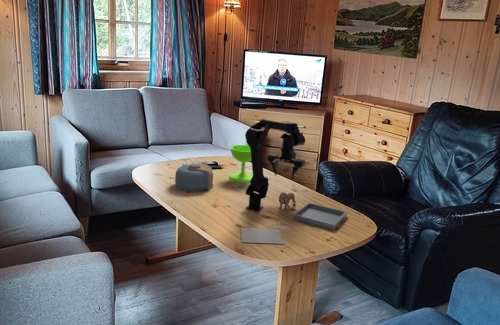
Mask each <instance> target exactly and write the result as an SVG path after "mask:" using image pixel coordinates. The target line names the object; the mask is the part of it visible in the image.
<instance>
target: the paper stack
mask: <svg viewBox="0 0 500 325" xmlns="http://www.w3.org/2000/svg"><path fill="white" fill-rule="evenodd" d="M274 227H275V228H256V227H254V228H253V227H240V233H241V234H240V235H241V236H240V237H241V242H242V243H249V244H250V243H252V244H253V243H256V244H279V245H280V244H281V245H284V239H283V237H282V233H281V231H280V229H282V230H285V231H289V229H288V226H287V225H285V226H284V225H274Z"/></svg>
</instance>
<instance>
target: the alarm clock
mask: <svg viewBox="0 0 500 325" xmlns="http://www.w3.org/2000/svg"><path fill="white" fill-rule="evenodd" d="M212 170H213V169H212V167H211V166H209V165H208V164H205V163H201V162H200V163H190V164H185V165H181V166H179V167H178V168H177V170H176V171H175V180H174V182H175V185H176V186H177V188H178V189H179V188H180V189H179V190H181V189H182V191H185V190H186V191H185V192H192V191H197V192H203V190H204V191H208V190H209V191H211V190H212V189H213V188H214V183H213V182H214V181H213V180H214V173H213V171H212ZM210 189H211V190H210Z"/></svg>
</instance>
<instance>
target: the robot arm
mask: <svg viewBox="0 0 500 325" xmlns="http://www.w3.org/2000/svg"><path fill="white" fill-rule="evenodd" d="M263 128H264V129H263ZM261 129H263V130H261ZM271 129H272V130H276V131H280V132H282V133H283V134H281V135H280V137H279V138H281V139H282V142H281V143H282V144H281V145H282V146H281V149H280V153H281V154H280V156H279V154H276V153H270V154H267V157H266V160H267V161H268V163H269V164H271V167H272V169H273V173H274V175H275V176H277V174H278V166H279V165H278V164H279V162H284V163H288V164H293V166H292V172H291V174H292V175H291V180H294V178H295V176H296V175H297V172H298V170H299V169H301V168H304V167H305V166H306V161H305V159H300V158H297V152H296V151H295V149H294V147H298V146H303V145H304V144H305V143H306V137H305V136H304V132H301V131H300V129H299V126H298V123H297V122H293V121H287V120H285V121H284V120H283V121H276V120H275V121H274V120H270V119H267V118H262V119H260V120H259V122H257V123H254V124H253V125H251V126H250V127H249V128H248V129H247V130H246V131H245V135H244V137H245V139H246V143H247V145H248V146H249V147H250V149H251V159H252V160H251V168H252V169H251V170H252V175H253V177H252V178H251V180H250V183H249V185H248V187H247V188H246V190H245V192H244V193H245V195H246V196H249V197H248V198H249V199H248V205H247V206H246V207H245V209H247V210H250V211H253V212H259V211H261V210H262V209H264V206H262V199H265V198H266V196H267V193H268V189H269V186H270V184H269V178H268V177H266V176H264V165H263V153H262V147H263V145H264V143H265V139H266V137H268V135H269V131H270V130H271ZM296 158H297V159H296Z"/></svg>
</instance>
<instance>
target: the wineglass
mask: <svg viewBox="0 0 500 325" xmlns="http://www.w3.org/2000/svg"><path fill="white" fill-rule="evenodd" d="M230 154H231V155H232V157H233V158H234V159H235V160H236V161H238V162H240V163H241V166H240V167H241V169H240V172H234V173H231V174H230V175H229V176H228V180H230V181H232V182H234V183H235V182H236V183H243V184H245V183H247V184H248V183H249V184H250V180H251V178H252V177H253V174H250V173H245V170H246V169H245V168H246V163H248V162H249V163H250V162H252V159H251V149H250V147H249V145H248V144H247V145H246V144H236V145H232V146H230Z"/></svg>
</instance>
